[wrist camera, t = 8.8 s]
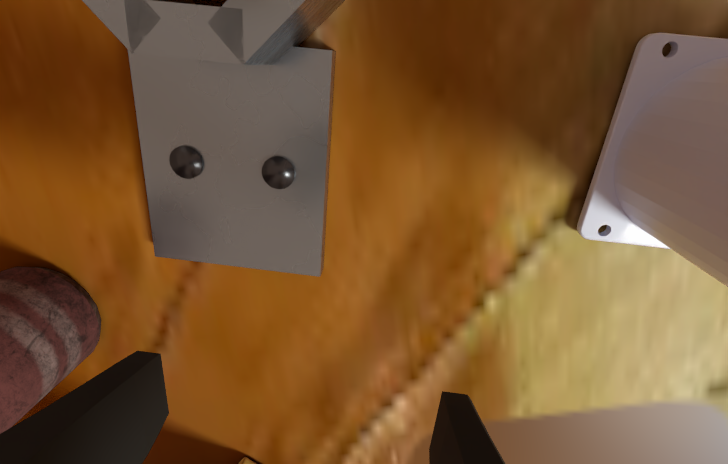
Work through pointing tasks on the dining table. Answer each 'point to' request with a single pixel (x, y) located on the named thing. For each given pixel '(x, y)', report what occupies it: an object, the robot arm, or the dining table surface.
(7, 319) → the can
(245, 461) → the candy box
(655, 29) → the dining table surface
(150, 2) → the bracket
